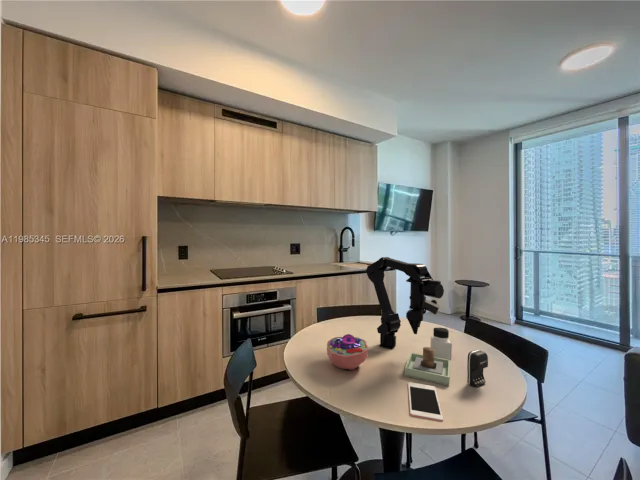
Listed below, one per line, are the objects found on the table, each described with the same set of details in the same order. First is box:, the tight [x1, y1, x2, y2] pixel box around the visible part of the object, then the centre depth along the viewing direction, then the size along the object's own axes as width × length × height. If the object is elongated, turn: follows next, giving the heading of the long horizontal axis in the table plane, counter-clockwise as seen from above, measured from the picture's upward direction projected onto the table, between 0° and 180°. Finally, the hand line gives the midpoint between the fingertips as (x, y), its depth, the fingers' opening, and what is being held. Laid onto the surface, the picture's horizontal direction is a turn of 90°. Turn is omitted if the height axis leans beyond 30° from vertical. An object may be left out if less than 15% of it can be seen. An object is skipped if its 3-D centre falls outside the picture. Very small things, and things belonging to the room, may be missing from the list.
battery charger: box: [466, 349, 489, 387], centre depth 97 cm, size 7×4×11 cm, turn 117°
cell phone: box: [407, 382, 444, 422], centre depth 88 cm, size 9×18×1 cm, turn 164°
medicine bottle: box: [430, 326, 453, 361], centre depth 120 cm, size 7×7×12 cm
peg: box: [422, 346, 434, 369], centre depth 106 cm, size 4×4×8 cm
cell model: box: [326, 333, 370, 370], centre depth 111 cm, size 17×20×11 cm
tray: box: [404, 352, 451, 387], centre depth 106 cm, size 15×15×3 cm
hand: (416, 330), depth 117 cm, fingers open, 9 cm apart
